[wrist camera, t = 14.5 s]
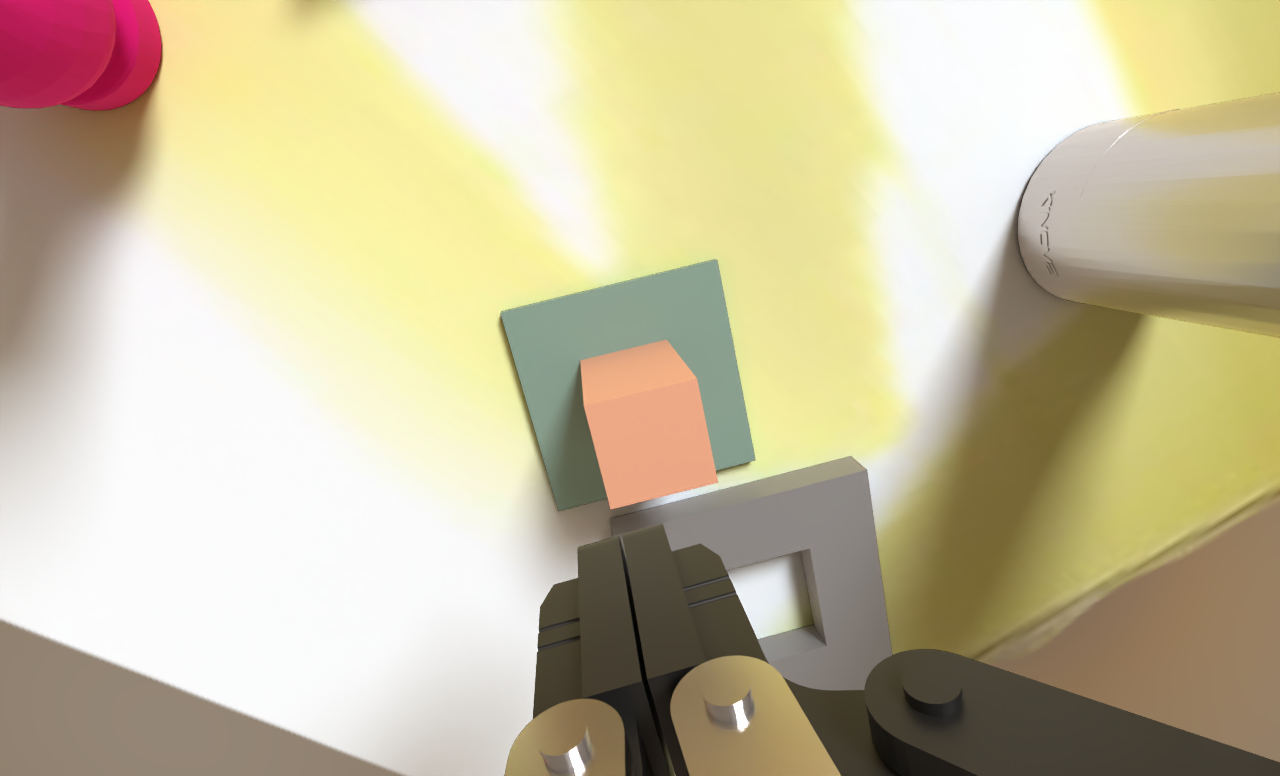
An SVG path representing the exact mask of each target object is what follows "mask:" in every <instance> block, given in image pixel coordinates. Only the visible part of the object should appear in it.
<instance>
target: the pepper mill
mask: <svg viewBox="0 0 1280 776" xmlns="http://www.w3.org/2000/svg"><path fill="white" fill-rule="evenodd" d="M160 57H161V36H160V31H159V25H158V22H157V19H156V16H155V14H154V11H153V9H152V7H151V5H150V3H149V1H148V0H0V106H7V107H13V108H44V107H50V106H55V105H58V104H61V105H66V106H70V107H75V108H80V109H85V110H93V111H101V110H111V109H115V108H119V107H122V106H124V105H126V104H129V103H130V102H132V101H134V100H135V99H137V98H138V97H139V96H140V95H141V94H143V93H144V92H145V91H146V90H147V88H148V87H149V86H150V84H151V83H152V81H153V80H154V77H155V75H156V73H157V70H158V68H159V63H160Z"/></svg>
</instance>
